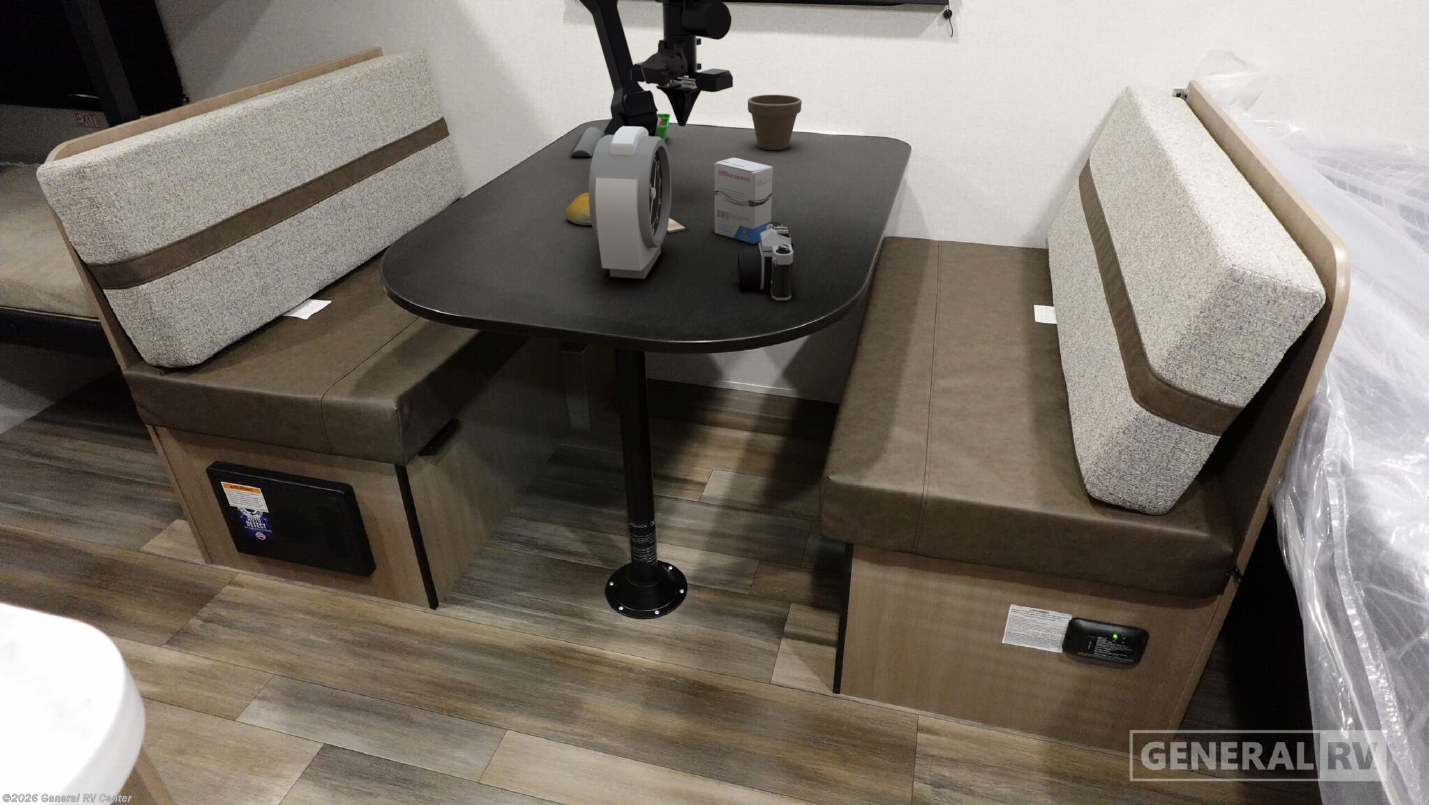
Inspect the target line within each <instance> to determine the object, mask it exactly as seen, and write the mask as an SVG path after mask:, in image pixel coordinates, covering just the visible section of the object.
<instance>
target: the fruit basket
mask: <svg viewBox="0 0 1429 805" xmlns="http://www.w3.org/2000/svg"><path fill="white" fill-rule="evenodd" d="M657 114H658V123H657V128H656V133H655V137H660V138H661V139H663V140H664V141H665V142H666V135H667V130H668V127H669V123H670V119H671V114H669V113H657Z"/></svg>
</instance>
